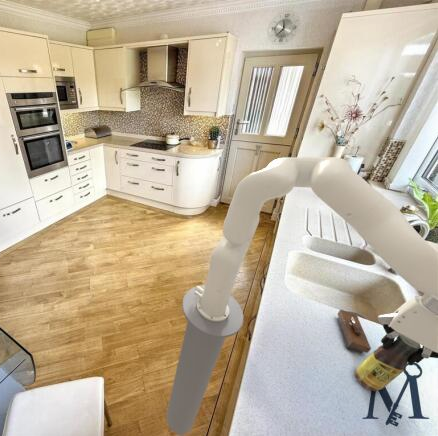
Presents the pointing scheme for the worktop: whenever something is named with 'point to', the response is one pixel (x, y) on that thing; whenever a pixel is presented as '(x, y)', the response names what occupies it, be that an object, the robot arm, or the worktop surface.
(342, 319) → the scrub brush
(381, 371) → the sauce bottle
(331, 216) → the worktop surface
